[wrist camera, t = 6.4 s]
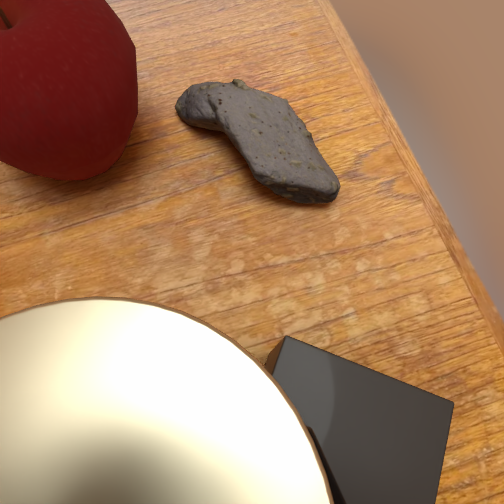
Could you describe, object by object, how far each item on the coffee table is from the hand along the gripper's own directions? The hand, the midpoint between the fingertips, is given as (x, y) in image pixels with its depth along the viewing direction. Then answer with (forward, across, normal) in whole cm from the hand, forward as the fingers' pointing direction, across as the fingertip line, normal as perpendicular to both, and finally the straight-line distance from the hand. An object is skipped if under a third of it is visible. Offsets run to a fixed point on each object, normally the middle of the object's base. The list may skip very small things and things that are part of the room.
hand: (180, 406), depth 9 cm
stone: (+21, +2, -2) cm, 21 cm away
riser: (+9, -6, +10) cm, 15 cm away
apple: (+20, +13, 0) cm, 24 cm away
